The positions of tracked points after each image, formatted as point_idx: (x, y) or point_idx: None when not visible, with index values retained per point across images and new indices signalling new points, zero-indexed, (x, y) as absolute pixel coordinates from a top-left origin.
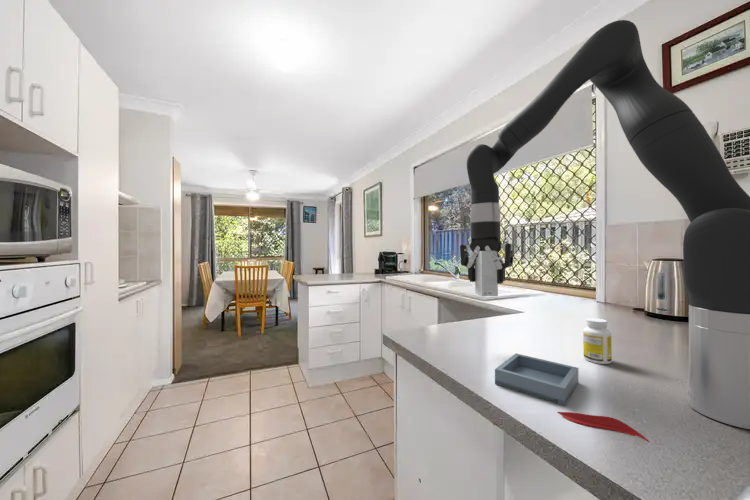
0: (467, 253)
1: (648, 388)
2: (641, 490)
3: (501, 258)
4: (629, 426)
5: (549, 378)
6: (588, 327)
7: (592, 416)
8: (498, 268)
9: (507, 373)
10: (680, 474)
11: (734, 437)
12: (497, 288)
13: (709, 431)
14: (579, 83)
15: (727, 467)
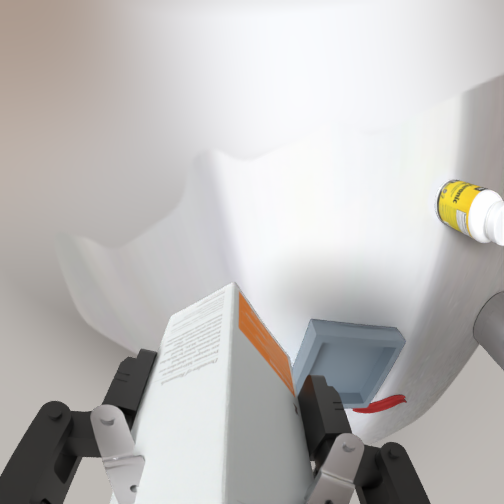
0: (42, 489)
1: (466, 292)
2: (374, 442)
3: (351, 489)
4: (401, 402)
5: (359, 354)
6: (483, 225)
7: (377, 411)
8: (316, 467)
9: None
10: (403, 421)
11: (467, 357)
12: (293, 381)
13: (458, 359)
14: None
15: (435, 398)
